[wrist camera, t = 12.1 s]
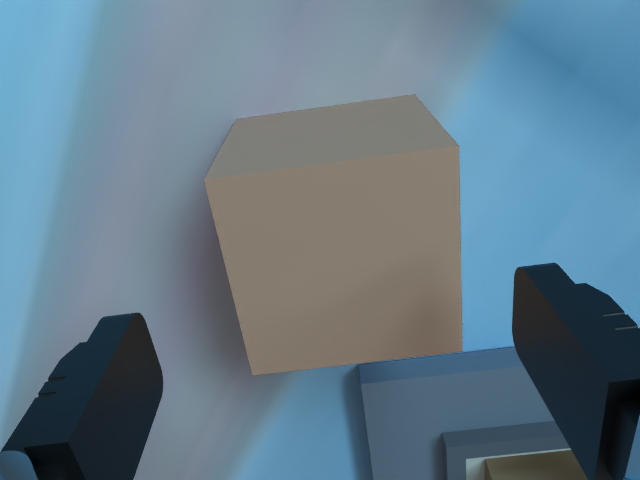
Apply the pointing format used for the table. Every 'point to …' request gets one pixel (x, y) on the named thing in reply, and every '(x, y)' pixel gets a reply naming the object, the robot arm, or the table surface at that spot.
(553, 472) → the walnut block
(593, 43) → the table surface
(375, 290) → the beige cube
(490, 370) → the slate gray baseplate
